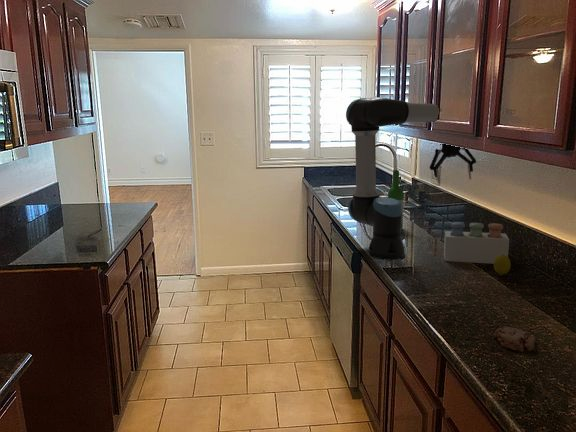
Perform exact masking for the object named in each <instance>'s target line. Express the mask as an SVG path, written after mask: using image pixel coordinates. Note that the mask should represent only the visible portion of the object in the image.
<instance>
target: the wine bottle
mask: <svg viewBox="0 0 576 432" xmlns="http://www.w3.org/2000/svg"><path fill="white" fill-rule="evenodd" d="M387 198H393V199H396V200H398V201H399V202H400V203H401V207H402V222H401V230H402V229H403V225H404V190H403V188H402V187H400V170H399V169H393V171H392V186H391V187H390V188H389V190H388V191H387Z"/></svg>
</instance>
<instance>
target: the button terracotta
mask: <svg viewBox="0 0 576 432" xmlns="http://www.w3.org/2000/svg"><path fill="white" fill-rule="evenodd" d="M487 228H488V229H489V232H488V233H489V237H492V238H501V233H502V230H503V229H504V225H503V224H502V223H493V222H492V223H488V227H487Z"/></svg>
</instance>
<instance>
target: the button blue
mask: <svg viewBox="0 0 576 432" xmlns="http://www.w3.org/2000/svg"><path fill="white" fill-rule="evenodd" d="M450 227H451V231H452V236H463V232H464V228H466V227H465V222H461V221H452V222H451V223H450Z"/></svg>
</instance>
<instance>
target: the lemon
mask: <svg viewBox="0 0 576 432" xmlns="http://www.w3.org/2000/svg"><path fill="white" fill-rule="evenodd" d="M511 266H512V264H511V260H510V258H509V256H508V257H507V256H505V255H504V254H502V255H500V256H498V257H496V259H495V261H494V264H493V268H494V269H493V270H494V271H495V273H497V274H498V275H500V276H503V275H507V274H508V273H509V272H510V270H511Z"/></svg>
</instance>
